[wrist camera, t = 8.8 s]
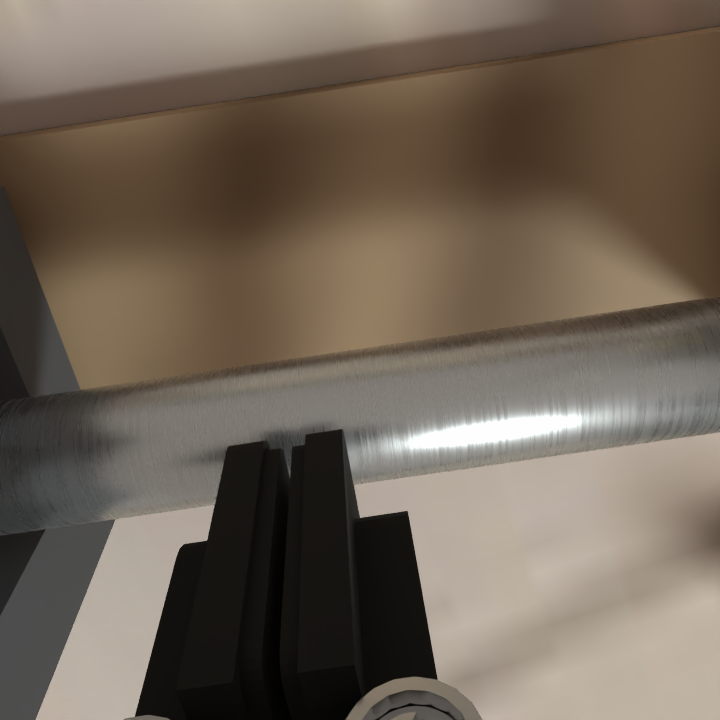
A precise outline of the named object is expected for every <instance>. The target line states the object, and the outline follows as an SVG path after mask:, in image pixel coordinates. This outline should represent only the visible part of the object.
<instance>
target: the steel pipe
mask: <svg viewBox="0 0 720 720" xmlns="http://www.w3.org/2000/svg"><path fill="white" fill-rule="evenodd" d="M338 429H343V432H344V436H345V441H346V446H347V452H348V457H349V463H350V468H351V473H352V479H353V484H354V485H356V484H363V483H370V482H377V481H384V480H391V479H398V478H405V477H412V476H419V475H426V474H433V473H440V472H447V471H454V470H461V469H468V468H475V467H482V466H489V465H496V464H503V463H510V462H517V461H524V460H531V459H538V458H545V457H552V456H558V455H565V454H572V453H579V452H586V451H593V450H600V449H607V448H614V447H621V446H628V445H635V444H642V443H649V442H656V441H663V440H670V439H677V438H684V437H691V436H698V435H705V434H712V433H719V432H720V296H717V297H710V298H703V299H697V300H690V301H683V302H676V303H669V304H662V305H656V306H649V307H642V308H635V309H628V310H621V311H615V312H608V313H601V314H594V315H587V316H580V317H574V318H567V319H560V320H553V321H546V322H539V323H533V324H526V325H519V326H512V327H505V328H498V329H492V330H485V331H478V332H471V333H464V334H457V335H451V336H444V337H437V338H430V339H423V340H417V341H410V342H403V343H396V344H389V345H382V346H376V347H369V348H362V349H355V350H348V351H341V352H335V353H328V354H321V355H314V356H307V357H300V358H294V359H287V360H280V361H273V362H266V363H259V364H253V365H246V366H239V367H232V368H225V369H218V370H212V371H205V372H198V373H191V374H184V375H178V376H171V377H164V378H157V379H150V380H143V381H137V382H130V383H123V384H116V385H109V386H102V387H96V388H89V389H82V390H75V391H68V392H61V393H55V394H48V395H41V396H34V397H27V398H20V399H14V400H7V401H0V536H1V535H8V534H15V533H22V532H29V531H36V530H43V529H50V528H57V527H64V526H71V525H78V524H85V523H92V522H99V521H106V520H113V519H120V518H127V517H133V516H140V515H147V514H154V513H161V512H168V511H175V510H182V509H189V508H196V507H203V506H210V505H215V502H216V497H217V493H218V488H219V483H220V478H221V474H222V469H223V464H224V459H225V455H226V450H227V448H228V447H229V446H232V445H239V444H245V443H252V442H259V441H265V440H266V441H267V442H268V445H269V447H270V450H272V449H279V448H282V450H283V452H284V455H285V459H286V463H287V467H288V472H289V476H290V472H291V456H292V447H293V446H298V445H305V435H306V434H312V433H318V432H325V431H331V430H338Z"/></svg>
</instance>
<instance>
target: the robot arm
mask: <svg viewBox="0 0 720 720" xmlns="http://www.w3.org/2000/svg"><path fill="white" fill-rule="evenodd" d="M124 720H482V718H481V716H480V715H479V713H478V711H477V710H476V708H475V706H474V705H473V703H472V702H471V701H470V700H469V699H467V698H466V697H465V696H464V695H463V694H462V693H461V692H459V691H458V690H457V689H456V688H454V687H452V686H450V685H447V684H445V683H443V682H441V681H439V680H437V674H436V668H435V663H434V657H433V651H432V646H431V640H430V634H429V629H428V623H427V618H426V612H425V606H424V601H423V595H422V589H421V584H420V578H419V572H418V567H417V561H416V555H415V550H414V544H413V539H412V533H411V527H410V522H409V516H408V512H407V511H404V512H398V513H391V514H384V515H378V516H371V517H364V518H360V516H359V511H358V506H357V500H356V495H355V490H354V484H353V479H352V473H351V468H350V463H349V457H348V452H347V446H346V441H345V436H344V432H343V429H338V430H331V431H325V432H318V433H312V434H306V435H305V445H298V446H293V447H292V456H291V472H290V476H289V472H288V467H287V463H286V459H285V455H284V452H283V450H282V448H279V449H272V450H270V447H269V445H268V442H267V441H266V440H265V441H259V442H252V443H245V444H239V445H232V446H229V447H228V448H227V450H226V455H225V459H224V464H223V469H222V474H221V478H220V483H219V488H218V493H217V497H216V502H215V507H214V512H213V516H212V521H211V526H210V530H209V535H208V540H207V541H203V542H196V543H189V544H184V545H183V546H182V547H181V548H180V550H179V552H178V555H177V558H176V561H175V565H174V569H173V573H172V577H171V580H170V584H169V588H168V592H167V596H166V600H165V603H164V607H163V611H162V615H161V619H160V623H159V626H158V630H157V634H156V638H155V642H154V646H153V649H152V653H151V657H150V661H149V665H148V669H147V672H146V676H145V680H144V684H143V688H142V692H141V695H140V699H139V703H138V707H137V711H136V714H135V717H131V718H126V719H124Z"/></svg>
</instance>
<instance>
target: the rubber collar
mask: <svg viewBox="0 0 720 720" xmlns="http://www.w3.org/2000/svg"><path fill="white" fill-rule="evenodd" d="M75 390H80V387H79V384H78V382H77V379H76V377H75V374H74V371H73V369H72V366H71V363H70V361H69V358H68V355H67V353H66V350H65V347H64V345H63V342H62V340H61V337H60V334H59V332H58V329H57V326H56V324H55V321H54V318H53V316H52V313H51V310H50V308H49V305H48V302H47V300H46V297H45V295H44V292H43V289H42V287H41V284H40V281H39V279H38V276H37V273H36V271H35V268H34V265H33V263H32V260H31V257H30V255H29V252H28V250H27V247H26V244H25V242H24V239H23V236H22V234H21V231H20V228H19V226H18V223H17V220H16V218H15V215H14V213H13V210H12V207H11V205H10V202H9V199H8V197H7V194H6V191H5V189H4V186H0V401H7V400H14V399H20V398H27V397H34V396H41V395H48V394H55V393H61V392H68V391H75ZM114 521H115V519H113V520H106V521H99V522H92V523H85V524H78V525H71V526H64V527H57V528H50V529H43V530H36V531H29V532H22V533H15V534H8V535H1V536H0V720H35V719H36V717H37V714H38V712H39V709H40V707H41V704H42V702H43V699H44V697H45V694H46V692H47V689H48V687H49V684H50V682H51V679H52V677H53V674H54V672H55V669H56V667H57V664H58V662H59V659H60V657H61V654H62V652H63V649H64V647H65V644H66V642H67V639H68V637H69V634H70V632H71V629H72V627H73V624H74V622H75V619H76V617H77V614H78V612H79V609H80V607H81V604H82V602H83V599H84V597H85V594H86V592H87V589H88V587H89V584H90V582H91V579H92V577H93V574H94V572H95V569H96V566H97V564H98V561H99V559H100V556H101V554H102V551H103V549H104V546H105V544H106V541H107V539H108V536H109V534H110V531H111V529H112V526H113V524H114Z"/></svg>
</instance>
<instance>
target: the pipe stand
mask: <svg viewBox="0 0 720 720" xmlns="http://www.w3.org/2000/svg"><path fill="white" fill-rule="evenodd" d="M0 186H4V189H5V191H6V194H7V197H8V199H9V202H10V205H11V207H12V210H13V213H14V215H15V218H16V220H17V223H18V226H19V228H20V231H21V234H22V236H23V239H24V242H25V244H26V247H27V250H28V252H29V255H30V257H31V260H32V263H33V265H34V268H35V271H36V273H37V276H38V279H39V281H40V284H41V287H42V289H43V292H44V295H45V297H46V300H47V302H48V305H49V308H50V310H51V313H52V316H53V318H54V321H55V324H56V326H57V329H58V332H59V334H60V337H61V340H62V342H63V345H64V347H65V350H66V353H67V355H68V358H69V361H70V363H71V366H72V369H73V371H74V374H75V377H76V379H77V382H78V384H79V387H80V390H82V389H89V388H96V387H102V386H109V385H116V384H123V383H130V382H137V381H143V380H150V379H157V378H164V377H171V376H178V375H184V374H191V373H198V372H205V371H212V370H218V369H225V368H232V367H239V366H246V365H253V364H259V363H266V362H273V361H280V360H287V359H294V358H300V357H307V356H314V355H321V354H328V353H335V352H341V351H348V350H355V349H362V348H369V347H376V346H382V345H389V344H396V343H403V342H410V341H417V340H423V339H430V338H437V337H444V336H451V335H457V334H464V333H471V332H478V331H485V330H492V329H498V328H505V327H512V326H519V325H526V324H533V323H539V322H546V321H553V320H560V319H567V318H574V317H580V316H587V315H594V314H601V313H608V312H615V311H621V310H628V309H635V308H642V307H649V306H656V305H662V304H669V303H676V302H683V301H690V300H697V299H703V298H710V297H717V296H720V27H713V28H707V29H700V30H693V31H687V32H680V33H674V34H667V35H661V36H654V37H647V38H641V39H634V40H628V41H621V42H615V43H608V44H601V45H595V46H588V47H582V48H575V49H569V50H562V51H555V52H549V53H542V54H536V55H529V56H523V57H516V58H509V59H503V60H496V61H490V62H483V63H477V64H470V65H463V66H457V67H450V68H444V69H437V70H431V71H424V72H417V73H411V74H404V75H398V76H391V77H385V78H378V79H371V80H365V81H358V82H352V83H345V84H339V85H332V86H326V87H319V88H312V89H306V90H299V91H293V92H286V93H280V94H273V95H266V96H260V97H253V98H247V99H240V100H234V101H227V102H220V103H214V104H207V105H201V106H194V107H188V108H181V109H174V110H168V111H161V112H155V113H148V114H142V115H135V116H128V117H122V118H115V119H109V120H102V121H96V122H89V123H82V124H76V125H69V126H63V127H56V128H50V129H43V130H36V131H30V132H23V133H17V134H10V135H4V136H0Z"/></svg>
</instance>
